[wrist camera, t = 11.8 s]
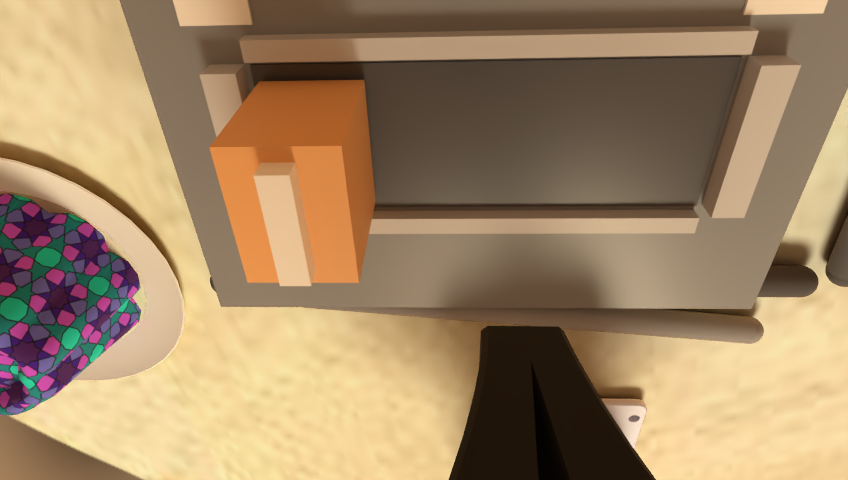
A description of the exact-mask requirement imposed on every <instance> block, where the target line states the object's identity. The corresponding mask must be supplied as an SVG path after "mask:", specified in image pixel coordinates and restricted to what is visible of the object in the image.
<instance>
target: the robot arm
mask: <svg viewBox="0 0 848 480" xmlns="http://www.w3.org/2000/svg"><path fill="white" fill-rule="evenodd" d="M646 412H647V408H646V405H645V403H644V401H642V400H640V399H610V398H600V396H599V394H598V393H597V391H596V389H595V388H594V386H593V384H592V383H591V381H590V379H589V378H588V376H587V374H586V372H585V371H584V369H583V367H582V365H581V364H580V362H579V360H578V358H577V356H576V354H575V353H574V351H573V349H572V347H571V345H570V343H569V341H568V339H567V337H566V335H565V333H564V331H563V330H562V329H561V328H560V327H558V326H487V327H486V328H484V329H483V330H481V339H480V362H479V371H478V377H477V382H476V387H475V392H474V396H473V400H472V404H471V408H470V412H469V416H468V420H467V424H466V428H465V431H464V435H463V438H462V441H461V444H460V447H459V450H458V453H457V456H456V459H455V462H454V465H453V468H452V471H451V474H450V477H449V480H656V479H655V478H654V476H653V475H652V474H651V472H650V471H649V469H648V468H647V467H646V465H645V464H644V463H643V461H642V460H641V458H640V457H639V455H638V454H637V453H636V451H635V450H634V448H635V445H636V442H637V439H638V436H639V433H640V430H641V427H642V424H643V421H644V418H645V415H646Z"/></svg>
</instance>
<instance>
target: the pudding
mask: <svg viewBox="0 0 848 480" xmlns="http://www.w3.org/2000/svg"><path fill="white" fill-rule="evenodd" d="M0 192H12V193H18V194H24V195H30V196H33V197H36V198H40V199H43V200H46V201H49V202H52V203H54V204H57V205H59V206H61V207H63V208H66V209H68V210H70V211H72V212H74V213H76V214H77V215H79V216H81V217H83V218H84V219H86V220H88V221H89V222H91V223H92V224H94V225H95V226H96V227H98V228H99V229H100V230H102V231H103V232H104V233H106V234H107V235H108V236H109V237H110V238H111V239H112V240H113V241H114V242H115V243H116V244H118V245H119V246H120V247H121V249H122V250H123V251H124V252H125V254H126V255H127V256H128V257H129V258H130V260H131V261H132V263H133V264H134V266H135V268H136V269H137V271H138V273H139V275H140V277H141V280H142V283H143V286H144V289H145V296H146V305H145V312H144V315H143V317H142V320H141V322H140V323H139V324H138V326H137V327H136V328H135V329H134V331H132V332H131V333H130V334H128V335H127V336H126V337H124V338H122V339H120V338H121V337H122V336H123V335H124V334H125V333H127V332H128V331H129V330H130V329H131V328H132V327H133V326H135V325H136V324H137V323H138V322H139V320H140V314H141V310H140V308H139V307H138V305H137V304H136V302H135V301H134V299H133V298H132V297H133V296H134V295H135V293H136V292H137V291H138V290H139V289H140V288H141V287H140V283H139V278H138V274H137V273H136V272H135V270H134V269H133V268H132V266H131V265H130V264H129V262H128V261H126V260H124V259H122V258H121V257H119V256H117V255H115V254H113V253H111V252H109V251H108V248H107V245H106V242H105V239H104V236H103V235H102V234H101V233H100V232H99V231H97V230H96V229H95V228H94V227H93V226H92V225H90V224H89V223H88V222H86V221H84V220H82V219H80V218H78V217H76V216H74V215H71V214H69V213H48V212H46V211H45V210H44V209H43V208H41V207H40V206H39V205H37V204H36V203H35V202H33V201H32V200H31V199H28V198H24V197H20V196H16V195H13V194H0V415H17V414H20V413H23V412H26V411H28V410H30V409H32V408H34V407H35V406H37V405H39V404H40V403H42V402H44V401H46V400H48V399H50V398H51V397H53V396H55V395H56V394H57V393H58V392H59V391H60V390H62V389H63V388H64V387H65V386H66V385H67V384H68V383H70V382H71V381H72V380H84V381H103V380H116V379H121V378H125V377H130V376H134V375H137V374H140V373H142V372H144V371H147V370H149V369H152V368H153V367H155V366H156V365H158V364H159V363H160V362H162V361H163V360H165V359H166V358H167V357H168V356H169V354H170V353H171V352H172V351H173V350H174V349H175V348H176V346H177V344H178V342H179V340H180V337H181V335H182V333H183V327H184V321H185V310H184V299H183V296H182V293H181V290H180V287H179V284H178V281H177V279H176V277H175V275H174V273H173V271H172V269H171V268H170V266H169V264H168V262H167V260H166V259H165V258H164V256H163V255H162V254H161V252H160V251H159V250H158V249H157V247H156V246H155V245H154V243H153V242H152V241H151V240H150V239H149V238H148V237H147V236H146V235H145V234H144V233H143V232H142V231H141V230H140V229H139V228H138V227H137V226H136V225H135V224H134V223H133V222H132V221H131V220H130V219H129V218H127V217H126V216H125V215H123V214H122V213H121V212H120V211H118V210H117V209H116V208H114V207H113V206H112V205H110V204H109V203H108V202H106V201H105V200H103V199H102V198H100V197H98V196H97V195H95V194H93V193H92V192H90V191H88V190H87V189H85V188H83V187H81V186H80V185H78V184H76V183H74V182H72V181H70V180H67V179H65V178H63V177H61V176H58V175H56V174H54V173H52V172H49V171H47V170H44V169H41V168H38V167H35V166H32V165H28V164H25V163H22V162H19V161H16V160H11V159H5V158H0ZM119 339H120V340H119Z"/></svg>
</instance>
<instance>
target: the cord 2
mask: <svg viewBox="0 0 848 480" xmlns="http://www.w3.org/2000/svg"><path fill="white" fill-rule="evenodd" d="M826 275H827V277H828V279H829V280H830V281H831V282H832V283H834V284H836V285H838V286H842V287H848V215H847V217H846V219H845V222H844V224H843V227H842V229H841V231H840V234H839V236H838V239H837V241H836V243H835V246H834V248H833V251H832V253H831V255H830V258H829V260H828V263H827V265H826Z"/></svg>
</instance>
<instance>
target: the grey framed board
mask: <svg viewBox="0 0 848 480" xmlns="http://www.w3.org/2000/svg"><path fill="white" fill-rule="evenodd" d="M120 3H121V6H122V9H123V12H124V15H125V18H126V21H127V24H128V27H129V30H130V33H131V36H132V39H133V42H134V45H135V48H136V51H137V54H138V57H139V60H140V63H141V66H142V69H143V72H144V76H145V79H146V82H147V85H148V88H149V91H150V94H151V97H152V100H153V103H154V106H155V109H156V112H157V115H158V118H159V121H160V124H161V127H162V130H163V133H164V136H165V139H166V142H167V145H168V148H169V151H170V154H171V157H172V160H173V163H174V166H175V169H176V172H177V175H178V178H179V181H180V184H181V187H182V190H183V193H184V196H185V199H186V202H187V205H188V208H189V211H190V214H191V217H192V220H193V223H194V226H195V229H196V233H197V236H198V239H199V242H200V245H201V248H202V251H203V254H204V257H205V260H206V263H207V266H208V269H209V272H210V275H211V278H212V281H213V284H214V287H215V290H216V293H217V296H218V299H219V302H220V305H221V307H418V308H644V309H752V307H753V305H754V303H755V300H756V298H757V296H758V294H759V291H760V289H761V287H762V284H763V282H764V280H765V277H766V275H767V273H768V271H769V268H770V266H771V264H772V261H773V259H774V257H775V254H776V252H777V250H778V247H779V245H780V243H781V241H782V238H783V236H784V234H785V231H786V229H787V227H788V224H789V222H790V220H791V218H792V215H793V213H794V211H795V208H796V206H797V204H798V201H799V199H800V197H801V194H802V192H803V190H804V188H805V185H806V183H807V181H808V178H809V176H810V174H811V171H812V169H813V167H814V164H815V162H816V160H817V158H818V155H819V153H820V151H821V148H822V146H823V144H824V141H825V139H826V137H827V135H828V132H829V130H830V128H831V125H832V123H833V121H834V118H835V116H836V114H837V111H838V109H839V107H840V105H841V102H842V100H843V98H844V95H845V93H846V91H847V88H848V0H120ZM315 80H364V82H365V93H366V103H367V114H368V125H369V135H370V146H371V156H372V167H373V178H374V188H375V199H376V201H375V206H374V211H373V216H372V221H371V226H370V231H369V236H368V241H367V246H366V251H365V256H364V261H363V266H362V271H361V276H360V281H359V283H312V285H311V286H280V284H279V283H248V282H247V279H246V275H245V272H244V268H243V265H242V261H241V258H240V254H239V251H238V247H237V244H236V240H235V236H234V233H233V229H232V226H231V222H230V219H229V215H228V212H227V208H226V205H225V201H224V198H223V194H222V191H221V187H220V184H219V180H218V176H217V173H216V169H215V166H214V162H213V159H212V155H211V152H210V148H209V147H210V146H211V144H212V143H213V142H214V140H215V139H216V138H217V136H218V135H219V134H220V132H221V131H222V130H223V128H224V127H225V126H226V125H227V123H228V122H229V121H230V119H231V118H232V117H233V115H234V114H235V113H236V111H237V110H238V109H239V107H240V106H241V105H242V103H243V102H244V101H245V100H246V98H247V97H248V96H249V94H250V93H251V92H252V90H253V89H254V88H255V86H256V85H257V84H258V82H259V81H315Z"/></svg>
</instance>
